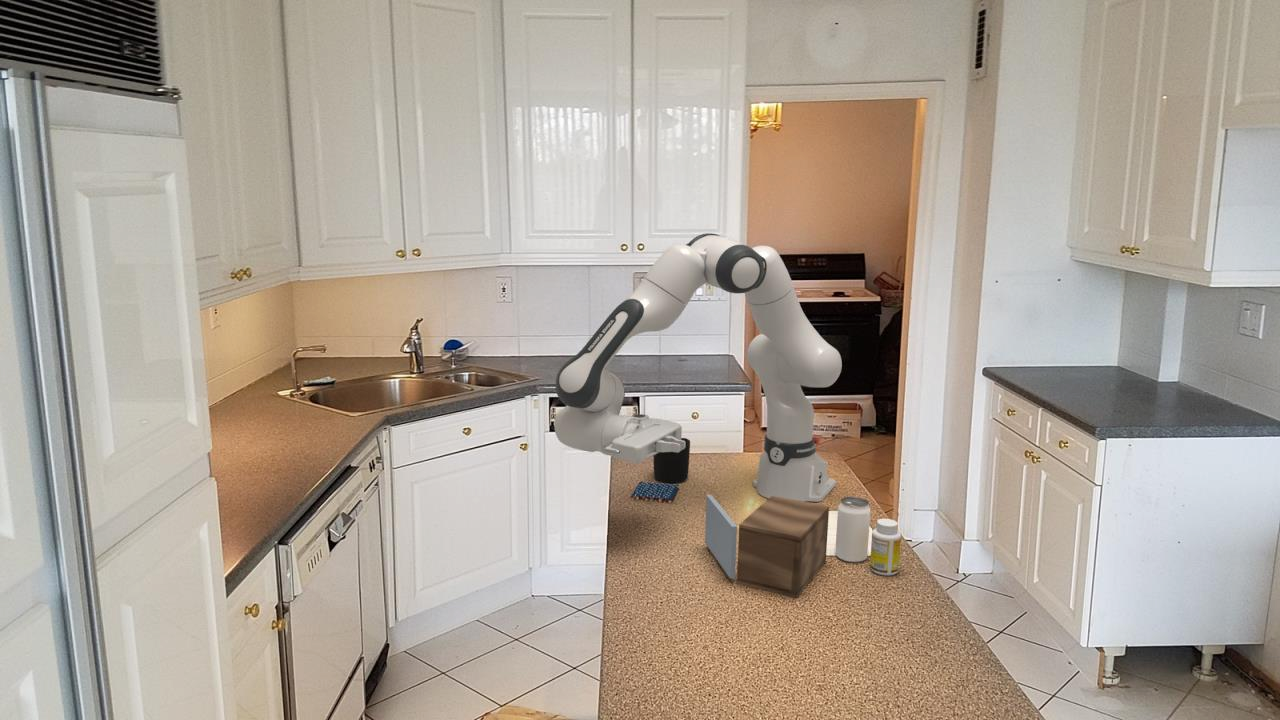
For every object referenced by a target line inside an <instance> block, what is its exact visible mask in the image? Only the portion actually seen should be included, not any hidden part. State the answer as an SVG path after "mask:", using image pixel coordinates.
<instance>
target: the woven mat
mask: <svg viewBox="0 0 1280 720" xmlns="http://www.w3.org/2000/svg"><path fill="white" fill-rule="evenodd" d="M679 486H680V484H679V483H677V484H667V483H662V482H655V481H653V482H650V481H640V482H638V484H637V486H636V487H635V489H634V490H633V492H632V493H631V495H630V498H631V501H634V500H636V501H641V502H643V501H645V502H648V501H649V502H653V501H654V502H655V503H657V502H658V503H663V504H665V503H666V502H668V503H669V504H671V503H672V502H674V501H675V498H676V497H677V495H678V494H677V493H678V491H680V487H679Z"/></svg>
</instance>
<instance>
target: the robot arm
mask: <svg viewBox="0 0 1280 720" xmlns="http://www.w3.org/2000/svg"><path fill="white" fill-rule="evenodd" d="M706 284H707V285H710V286H712V287H715V288H718V289H721V290H723V291H725V292H727V293H731V294H744V297H745V299H746V301H747V304H748V307H749V309H750V312H751V316H752V319H753V321H754V324H755V326H756V328H757V329H758V331H759V332H760V333H761V334H758V335H757V336H755V337H754V338H753V339H752V340H751V342H750V344H749V345H748V349H747V361H748V362H747V363H748V364H749V366H750V367H751V369H752V370H753V372H755V374H756V376H757V377H758V379H759V381H760V384H761V386H762V390H763V393H764V397H765V401H766V434H765V436H764V440H763V445H764V446H763V451H764V452H763V453H761V455H760V456H759V461H758V469H757V476H756V479H754V480H753V481H752V486H753V487H755V488H756V491H757V494H759V495H760V496H762V497H764V498H766V499H769V498H770V497H771V496H776V497H782V498H787V499H792V500H798V501H803V502H813V503H814V502H819V503H820V502H822V501H823V500H824V499H825V498H826V497H827V496H828V495H829V493H830V492H831V491H832V490H833V489H834V488H836V487H835V486H836V485H837V480H835V479H834V478H832V477H829V476H828V463H827V462H826V460H825V459H823V458H822V457H821V456H820V455H819V453H817V452H816V451H817V450H816V445H819V444H820V442H821V437H820V436H819V435H814V434H813V433H814V432H813V431H814V418H815V410H814V406H813V404H812V402H811V401H810V400H809V399H808V397H806V395H805V393H804V392H803V388H802V387H808V388H829V387H831V386H832V385H834V383H836V381H837V380H838V378H839V377H840V374H841V373H842V367H843V365H842V364H843V363H842V356H841V354H840V352H839V351H838V349H837V348H835V347H834V346H832V345H831V344H829V343H828V342H827V341H826V340H825V339H824V338H823V337H822V336H821V335H820V333H819V331H817V330H816V328H814V326H813V325H812V323H811V322H810V320H809V319H808V318H807V316H806V314H805V313H804V311H803V308H802V307H801V304H800V301H799V298H798V296H797V292H796V290H795V287H794V284H793V281H792V278H791V276H790V273H789V271H788V269H787V267H786V265H785V263H784V260H783V259H782V257H781V256H780V254H779V253H778V252H777V250H776V249H775V248H774V247H772V246H768V245H756V246H754V247H751V246H748V245H745V244H743V243H741V242H739V241H738V240H735V239H733V238H730V237H726V236H721V235H720V234H717V233H709V232H708V233H702V234H699V235H697V236H696V237H693V239H691V240H690V241H689V242H688V243H686V244H682V243H676V244H672V245H671V246H669V247H668V248H667V249H666V250H664V252H663V253H662V254H661V255H660V257H658V258H657V260H655V262H654V263H653V264H652V266H651V267H650V268H649V270H648V271H647V273H646V275H645V276H644V278H643V279H641V282H640V283H639V284H638V285H637V287H636V288H635V289H634V291H633V292H632V293H631V294H630V295H629V296H628V297H627V298H626V299H625V300H623V301H622V302H621V303H620V304H619V305H617V306H616V308H615V309H614V310H613V311H612V312H611V313H610V314H609V315H608V316H607V318H606V319H605V320H604V321H603V322H602V324H601V325H599V328H598V329H597V330H596V331H595V333H594V334H593V335H592V336H591V338H590V339H589V340H588V341H587V343H586V344H585V345H584V346H583V347H582V348H581V350H580V351H578V352H577V354H575V355H574V356H573V357H572V358H570V359H568V360H567V361H566V362H565V363H564V364H563V365H562V366H561V367H560V369H559V370H558V372H557V375H556V378H555V393H556V395H557V398H558V399H559V400H560V401H561V403H563V404H564V405H565V406H564V407H563V408H562V409H560V410H559V411H558V412H557V413H556V415H555V418H554V425H553V427H554V432H555V433H554V434H555V435H556V438H557V440H558V441H559V442H560V443H562V444H563V445H564V446H566V447H568V448H571V449H575V450H579V451H584V452H588V453H596V452H597V453H598V452H599V453H602V454H603V455H604V456H609V457H610V456H611V457H612V458H614V459H617V460H620V461H622V462H628V463H632V464H641V463H644V461H647V460H648V459H650V458H651V457H653V456H654V455H655V454H657V453H659V452H677V453H678V452H680V451H681V450H683V449H685V441H682V440H681V438H682V431H683V430H682V428H683V427H682V425H681V424H679V423H677V422H675V421H670V420H665V419H661V418H654V417H650V416H649V415H648V414H645V413H641V414H639V413H638V414H634V415H621V414H620V412H621V409H622V407H623V403H624V400H625V395H626V391H625V390H626V389H625V386H624V383H623V381H622V379H621V378H620V377H618V375H615V374H614V373H612V372H609V371H608V370H607V369H606V368H607V366H608V365H609V364H610V362H611V361H612V360H613V359H614V358H615V356H616V355H617V354H618V353H619V352H620V350H621V348H622V347H623V346H624V345H625V344H626V342H627V341H628V340H630V339H631V338H633V337H634V336H636V335H639V334H642V333H643V334H644V333H646V332H661V331H664V330H665V329H668V328H670V327H671V326H672V325H673V324H674V323H675V322H676V321H677V320H678V319H679V317H681V315H682V313H683V312H684V310H685V308H686V306H688V304H689V302H690V300H691V299H692V297H693V295H694V294H695V292H696V291H697V290H698V289H699V288H701V287H702V286H703V285H706Z"/></svg>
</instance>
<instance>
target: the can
mask: <svg viewBox="0 0 1280 720" xmlns="http://www.w3.org/2000/svg"><path fill="white" fill-rule="evenodd" d="M869 504H870V502H869V501H868V500H867V499H865V498H863V497H859V496H844V497H842V498H841V499H840V503H839V505H838V507H837V517H836V518H837V519H836V535H835V550H834V551H835V552H834V554H835V556H836V557H837V558H838V559H839V560H840V561H843V562H846V563H853V564H854V563H855V564H856V563H861V562H864V561H866V560H867V558H868V553H869V552H868V551H869V541H870V540H869V539H870V538H869V537H870V524H871V508H870V506H869Z"/></svg>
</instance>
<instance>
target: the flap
mask: <svg viewBox="0 0 1280 720" xmlns="http://www.w3.org/2000/svg"><path fill="white" fill-rule="evenodd" d="M705 498H706V500H705V525H704V526H705V530H704V543H705V545H706V547H708V549H709V550H710V552H711V553H712V555H713V556H714V557H715V559H716V560H717V562H718V563H719V565H720V566H721V568H722V569H723V571H724V572H725V573H726V575H727V577H728V578H729V579H735V578H736V565H737V564H736V560H737V543H738V542H737V539H738V536H737V535H738V526H737V524H736V523H735V522H734V520H732V518H731V517H730V516H729V514H727V512H726V511H725V510H724V508H723V507H722V505H720V503H719V502H718V501H717V499H715V498H714V496H713V494H706V496H705Z"/></svg>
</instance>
